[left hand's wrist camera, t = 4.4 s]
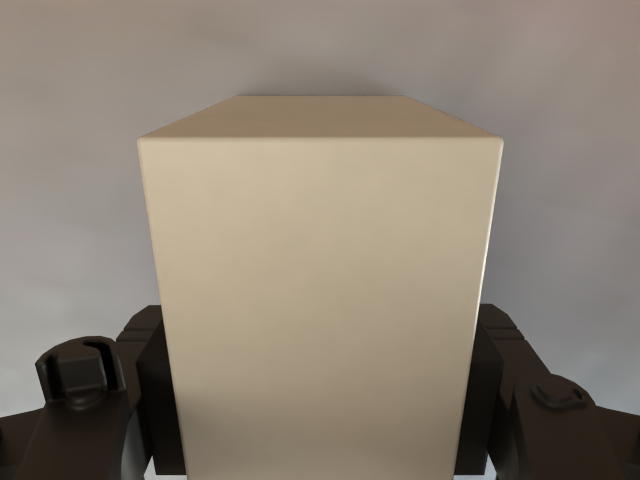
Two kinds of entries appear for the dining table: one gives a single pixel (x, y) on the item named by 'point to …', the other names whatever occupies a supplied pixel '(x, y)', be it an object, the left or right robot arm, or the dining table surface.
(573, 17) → the dining table surface
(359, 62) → the dining table surface
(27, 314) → the dining table surface
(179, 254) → the post
